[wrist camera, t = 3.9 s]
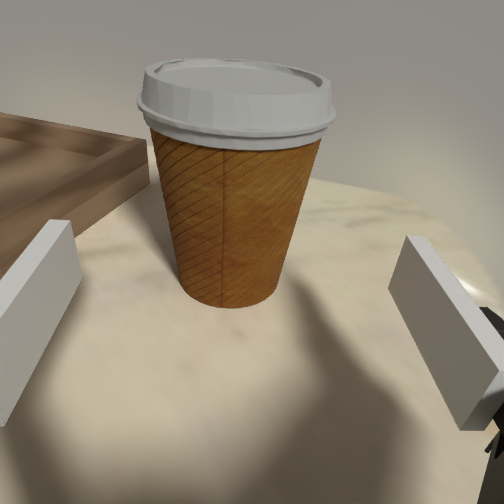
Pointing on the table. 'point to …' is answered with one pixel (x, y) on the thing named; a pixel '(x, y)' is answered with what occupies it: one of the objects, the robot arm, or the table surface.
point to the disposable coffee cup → (233, 167)
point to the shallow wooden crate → (61, 178)
